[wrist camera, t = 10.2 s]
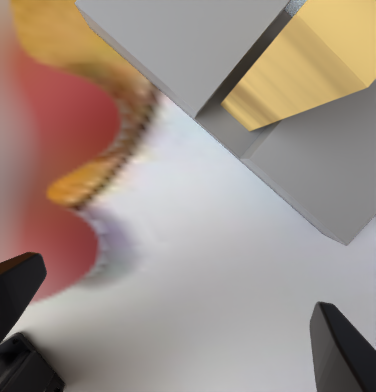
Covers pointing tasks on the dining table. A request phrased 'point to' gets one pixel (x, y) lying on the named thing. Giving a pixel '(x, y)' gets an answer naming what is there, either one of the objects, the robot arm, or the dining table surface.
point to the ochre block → (309, 63)
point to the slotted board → (225, 82)
